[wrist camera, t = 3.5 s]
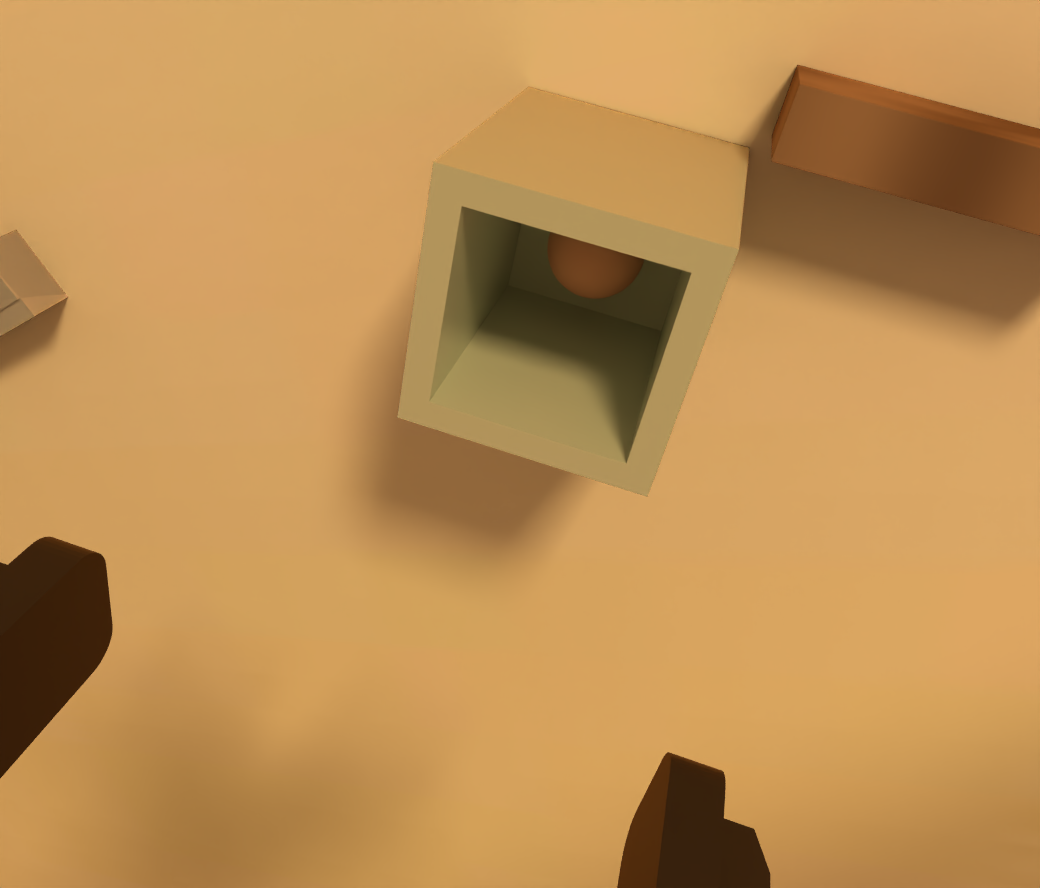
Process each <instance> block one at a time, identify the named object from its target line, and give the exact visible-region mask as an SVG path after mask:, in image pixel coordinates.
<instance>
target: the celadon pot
mask: <svg viewBox="0 0 1040 888" xmlns="http://www.w3.org/2000/svg"><path fill="white" fill-rule="evenodd" d="M748 158H749V147H745V146H741V145H738V144H734V143H731V142H727V141H723V140H720V139H716V138H712V137H709V136H705V135H701V134H698V133H694V132H691V131H687V130H683V129H680V128H676V127H672V126H669V125H665V124H662V123H658V122H654V121H651V120H647V119H643V118H640V117H636V116H633V115H629V114H625V113H622V112H618V111H614V110H611V109H607V108H603V107H600V106H596V105H593V104H589V103H585V102H582V101H578V100H574V99H571V98H567V97H564V96H560V95H556V94H553V93H549V92H545V91H542V90H538V89H534V88H531V87H528V88H526V89H525V90H524V91H523V92H521V93H520V94H519V95H517V96H516V97H515V98H514V99H512V100H511V101H510V102H509V103H507V104H506V105H505V106H504V107H502V108H501V109H500V110H498V111H497V112H496V113H495V114H493V115H492V116H491V117H490V118H488V119H487V120H486V121H485V122H483V123H482V124H481V125H479V126H478V127H477V128H476V129H474V130H473V131H472V132H471V133H469V134H468V135H467V136H465V137H464V138H463V139H462V140H460V141H459V142H458V143H457V144H455V145H454V146H453V147H452V148H450V149H449V150H448V151H446V152H445V153H444V154H443V155H441V156H440V157H439V158H438V159H436V160H435V161H434V162H433V168H432V175H431V182H430V189H429V196H428V203H427V210H426V218H425V225H424V232H423V239H422V246H421V253H420V260H419V267H418V274H417V281H416V288H415V296H414V303H413V310H412V317H411V324H410V331H409V338H408V345H407V352H406V359H405V367H404V374H403V381H402V388H401V395H400V402H399V409H398V416H397V418H400V419H403V420H406V421H409V422H413V423H416V424H419V425H422V426H425V427H428V428H432V429H435V430H438V431H441V432H444V433H447V434H450V435H454V436H457V437H460V438H463V439H466V440H469V441H473V442H476V443H479V444H482V445H485V446H488V447H492V448H495V449H498V450H501V451H504V452H507V453H510V454H514V455H517V456H520V457H523V458H526V459H529V460H533V461H536V462H539V463H542V464H545V465H548V466H551V467H555V468H558V469H561V470H564V471H567V472H570V473H574V474H577V475H580V476H583V477H586V478H589V479H593V480H596V481H599V482H602V483H605V484H608V485H611V486H615V487H618V488H621V489H624V490H627V491H630V492H634V493H637V494H640V495H643V496H646V497H648V494H649V492H650V489H651V486H652V483H653V481H654V478H655V475H656V473H657V470H658V467H659V465H660V462H661V459H662V456H663V454H664V451H665V448H666V446H667V443H668V440H669V438H670V435H671V432H672V429H673V427H674V424H675V421H676V419H677V416H678V413H679V411H680V408H681V405H682V402H683V400H684V397H685V394H686V392H687V389H688V386H689V384H690V381H691V378H692V375H693V373H694V370H695V367H696V365H697V362H698V359H699V357H700V354H701V351H702V348H703V346H704V343H705V340H706V338H707V335H708V332H709V330H710V327H711V324H712V321H713V319H714V316H715V313H716V311H717V308H718V305H719V303H720V300H721V297H722V294H723V292H724V289H725V286H726V284H727V281H728V278H729V276H730V273H731V270H732V267H733V265H734V262H735V259H736V257H737V254H738V251H739V246H740V236H741V226H742V217H743V207H744V197H745V187H746V178H747V168H748ZM550 232H553V233H556V234H560V235H563V236H566V237H570V238H573V239H577V240H580V241H584V242H587V243H591V244H594V245H597V246H601V247H604V248H608V249H611V250H615V251H618V252H621V253H625V254H628V255H632V256H635V257H639V258H642V259H644V263H643V265H642V268H641V270H640V272H639V274H638V275H637V277H636V278H635V280H634V281H633V282H632V283H631V284H630V285H629V286H628V287H627V288H625V289H624V290H623V291H621V292H619V293H617V294H615V295H613V296H610V297H606V298H600V299H592V298H585V297H581V296H579V295H576V294H574V293H572V292H571V291H569V290H568V289H566V288H565V287H564V286H563V285H562V284H561V283H560V282H559V281H558V280H557V278H556V277H555V275H554V273H553V272H552V269H551V267H550V264H549V260H548V253H547V248H548V239H549V235H550Z"/></svg>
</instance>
